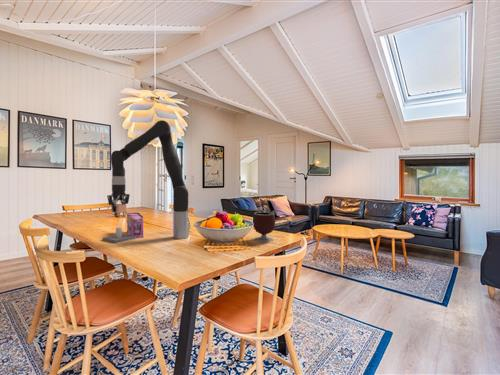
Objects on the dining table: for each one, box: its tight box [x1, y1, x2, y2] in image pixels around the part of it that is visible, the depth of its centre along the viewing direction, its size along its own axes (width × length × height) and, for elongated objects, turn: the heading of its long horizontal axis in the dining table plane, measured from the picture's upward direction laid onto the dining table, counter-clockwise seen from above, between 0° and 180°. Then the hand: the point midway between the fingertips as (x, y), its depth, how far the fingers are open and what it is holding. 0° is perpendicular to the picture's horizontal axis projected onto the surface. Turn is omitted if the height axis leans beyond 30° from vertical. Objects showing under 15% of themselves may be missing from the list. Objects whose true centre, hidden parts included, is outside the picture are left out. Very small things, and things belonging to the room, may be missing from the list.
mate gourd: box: [252, 209, 277, 243], centre depth 174 cm, size 16×14×20 cm
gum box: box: [126, 212, 144, 239], centre depth 182 cm, size 24×8×14 cm, turn 29°
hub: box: [110, 203, 127, 214], centre depth 168 cm, size 5×7×4 cm
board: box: [102, 226, 136, 244], centre depth 169 cm, size 13×13×8 cm
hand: (118, 211), depth 168 cm, fingers closed on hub, 5 cm apart
